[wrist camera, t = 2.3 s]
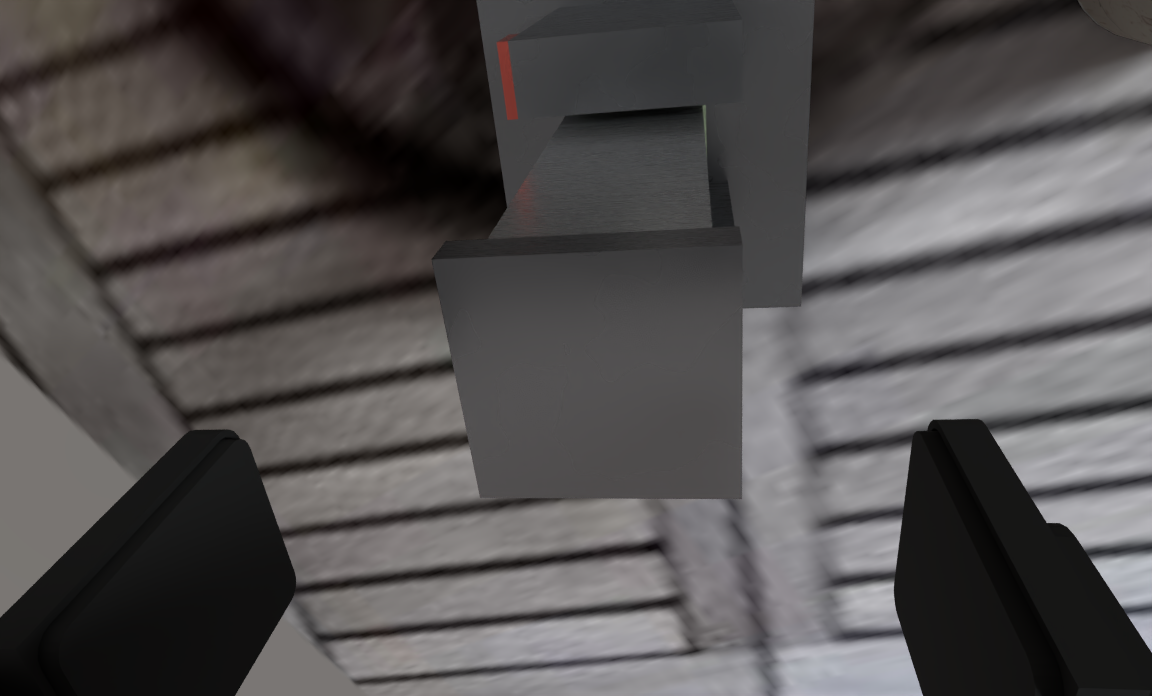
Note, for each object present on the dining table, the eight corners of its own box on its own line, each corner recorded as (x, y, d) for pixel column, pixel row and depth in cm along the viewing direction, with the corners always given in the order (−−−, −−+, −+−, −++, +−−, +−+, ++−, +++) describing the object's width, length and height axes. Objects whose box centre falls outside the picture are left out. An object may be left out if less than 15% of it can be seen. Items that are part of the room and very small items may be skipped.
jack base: (482, -95, 29) (367, -104, 19) (808, -135, 27) (882, -170, 17) (535, 287, 37) (474, 432, 26) (792, 277, 35) (837, 429, 24)
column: (579, 65, 28) (431, 259, 12) (710, 54, 28) (742, 245, 11) (590, 191, 31) (479, 497, 14) (712, 184, 30) (741, 499, 14)
